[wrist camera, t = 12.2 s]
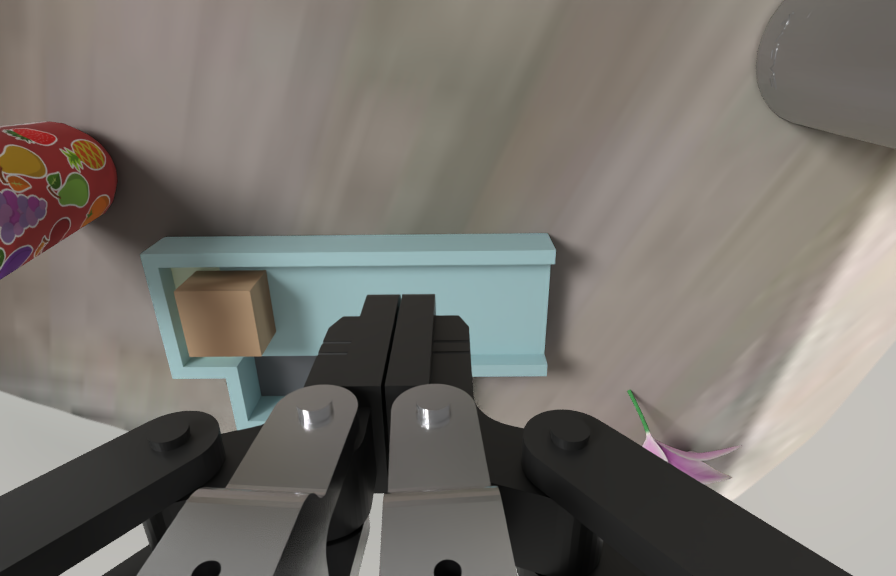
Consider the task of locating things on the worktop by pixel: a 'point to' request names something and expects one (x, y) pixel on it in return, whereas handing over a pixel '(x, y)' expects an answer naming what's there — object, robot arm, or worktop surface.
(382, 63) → the worktop surface
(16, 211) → the smoothie
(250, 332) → the walnut block
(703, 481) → the lily
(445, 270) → the box
